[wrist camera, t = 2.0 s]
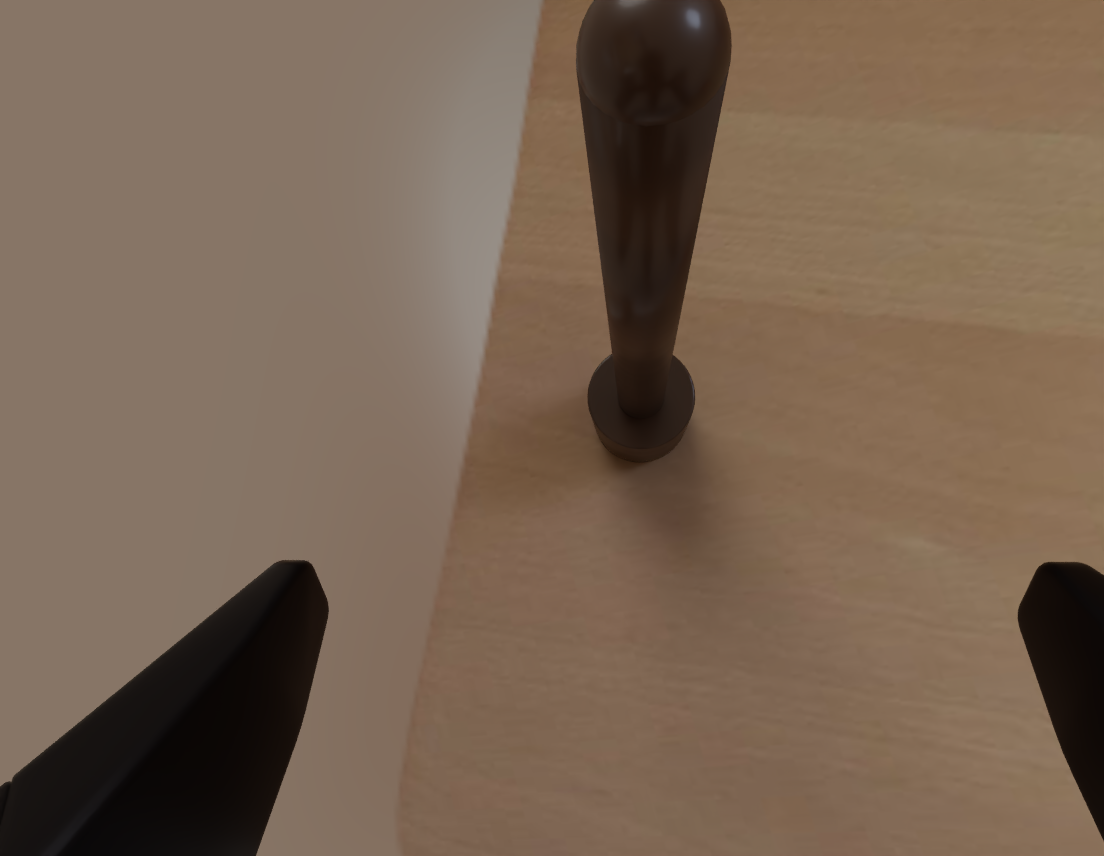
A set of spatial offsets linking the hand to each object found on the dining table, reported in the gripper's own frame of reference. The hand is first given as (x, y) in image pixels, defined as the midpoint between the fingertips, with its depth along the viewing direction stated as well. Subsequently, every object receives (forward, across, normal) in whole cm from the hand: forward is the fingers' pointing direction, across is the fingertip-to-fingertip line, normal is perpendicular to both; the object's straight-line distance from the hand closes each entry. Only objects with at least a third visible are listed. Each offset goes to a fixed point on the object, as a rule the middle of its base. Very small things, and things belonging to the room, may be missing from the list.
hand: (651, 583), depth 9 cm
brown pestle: (+11, 0, +5) cm, 12 cm away
